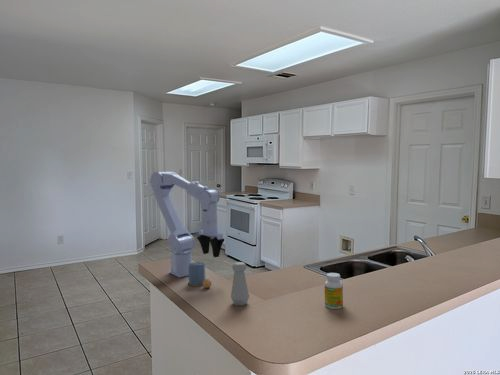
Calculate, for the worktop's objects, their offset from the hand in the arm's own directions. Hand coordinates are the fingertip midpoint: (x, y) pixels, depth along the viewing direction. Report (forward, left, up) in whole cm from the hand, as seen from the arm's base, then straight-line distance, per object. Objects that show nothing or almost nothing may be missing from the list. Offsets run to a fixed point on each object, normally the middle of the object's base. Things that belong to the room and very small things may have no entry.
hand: (211, 255), depth 137 cm
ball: (+8, -7, -8) cm, 13 cm away
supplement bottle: (+49, +13, -10) cm, 52 cm away
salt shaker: (+28, -7, -10) cm, 30 cm away
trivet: (+1, -7, -9) cm, 12 cm away
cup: (+1, -7, -9) cm, 11 cm away
